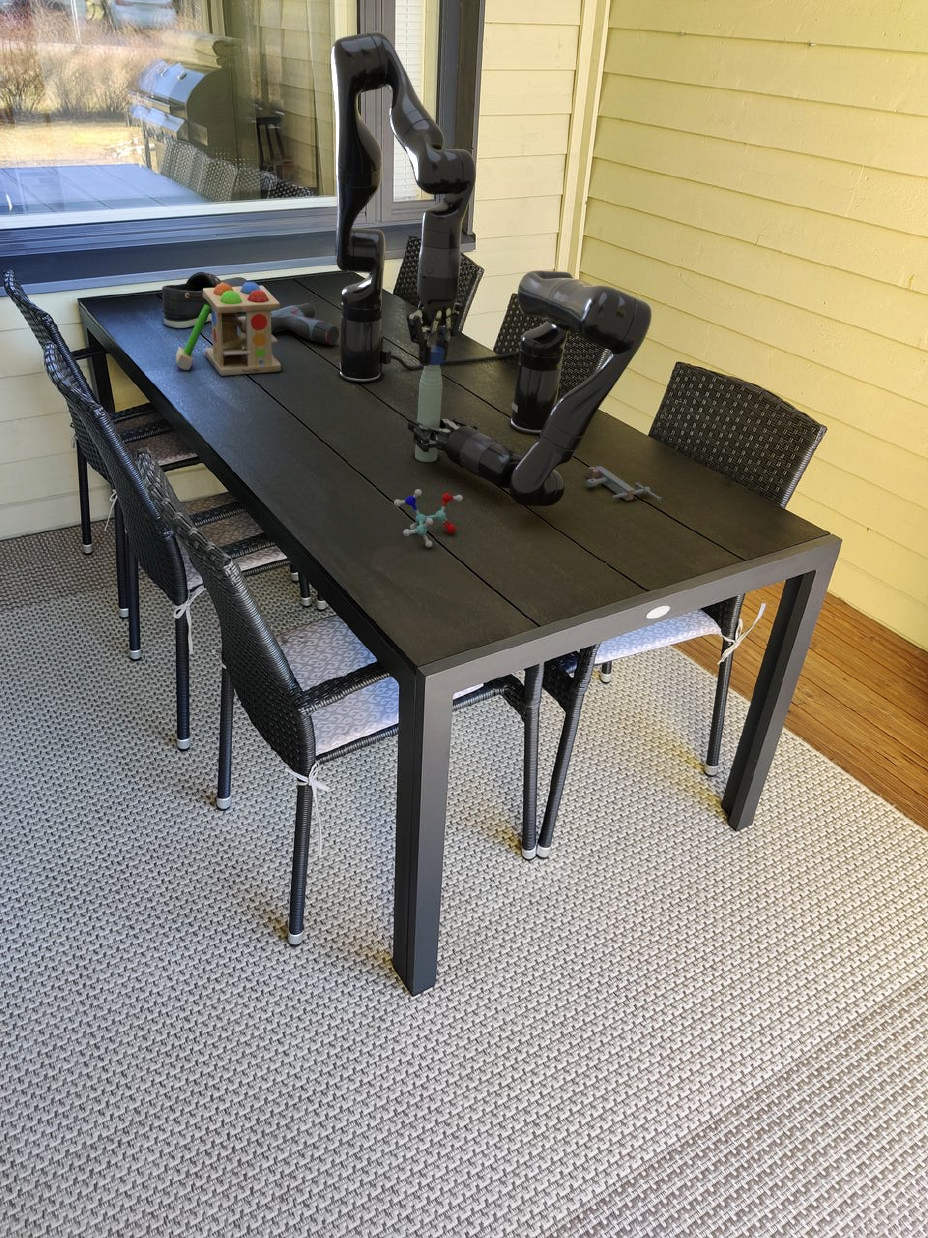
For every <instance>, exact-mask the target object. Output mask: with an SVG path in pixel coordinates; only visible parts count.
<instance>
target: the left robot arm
mask: <svg viewBox="0 0 928 1238" xmlns="http://www.w3.org/2000/svg"><path fill="white" fill-rule="evenodd" d="M331 74H332V75H331V76H332V86H333V97H334V110H335V133H336V134H335V136H336V137H335V179H336V182H335V183H336V205H337V206H336V226H335V227H336V228H335V247H334V250H335V251H334V252H335V253H334V254H335V261H336V265H337V267H338V269H339V270H340V271H342V272H346V273H354V274H355V273H356V274H357V273H358V274H368V276H367V277H366V278H364V279H363V280H361V281H359V282H356V283H353V284H349V285H347V286H345V287H343V289H342V290H341V307H340V308H341V310H340V311H341V312H340V314H341V315H340V322H341V323H340V362H339V369H340V370H339V376H340V377H341V378H342V380H345V381H348V382H352V383H359V384H360V383H361V384H364V383H365V384H366V383H367V384H369V383H373V382H376V381H378V380H380V378H381V375H382V374H383V365H389V364H391V363H392V360H394V361H397V362H399V363H400V364H401V366H402V367H403V368H404V369H406V370H409V371H415V370H416V371H417V370H421V369H424V366H428V365H430V359H431V345H432V343H433V342H432V341H433V337H434V336H435V335H436V336H437V339H436V340H435V341H436V342H435V343H436V344H435V345H436V346H440V347H442V348H444V362H443V363H442V364H441V365H450V364H451V365H453V364H465V363H467V364H468V363H478V362H487V361H495V360H499V359H505V358H509V357H515V356H519V353H520V349H519V350H517V351H513V352H507V353H501V354H499V355H493V356H491V355H490V356H484V357H475V358H464V359H463V358H461V359H449V360H448V359H447V357H448V352H449V350H448V349H449V342H450V341H451V338H452V337H454V338H455V337H457V335H458V333H459V329H460V325H461V322H462V320H463V319H462V318H463V315H464V311H465V309H466V308H465V305H464V304H461V303H459V302H456V301H455V300H456V299H457V298H458V295H459V285H460V284H459V283H460V274H461V273H460V272H461V260H462V259H461V258H462V257H461V243H462V231H463V229H462V227H463V221H464V218H465V215H466V212H467V210H468V206H469V203H470V200H471V197H472V194H473V191H474V188H475V184H476V180H477V167H476V166H477V165H476V163H475V162H476V161H475V160H474V157H473V155H472V154H471V153H470V152H469V151H468V150H466V149H463V148H450V149H449V148H448V149H447V148H445V149H444V147H445V137H444V134H443V132H442V130H441V128H440V127H439V125H438V124H437V123H436V121H435V120H434V118H433V116H431V114H430V112H429V111H428V110H427V109H426V108H425V106H424V105H423V103H422V101H421V100H420V98H419V96H418V95H417V92H416V91H415V89H414V86H413V83H412V81H411V79H410V77H409V75H408V73H407V71H406V69H405V67H404V65H403V63H402V60H401V59H400V56H399V55H398V52H397V50H396V49H395V46H394V45H393V43H392V42H391V40H390V39H389V37H387V35H386V34H385V33H384V32H381V31H376V30H375V31H368V32H367V31H366V32H362V33H358V34H352V35H348V36H343V37H340V38H338V39H336V40H335V41H334V43H333V45H332V49H331ZM382 88H386V89H387V90H388V91H389V92H390V93H391V99H390V100H391V102H390V106H389V113H388V116H389V125H390V129H391V132H392V134H393V135H394V137H395V139H396V140H397V141H398V143H399V145H400V146H401V147H402V150H404V152H405V153H406V154H407V156H408V159H409V163H410V166H411V170H412V172H413V177H414V180H415V183H416V185H417V187H418V188H419V189H420V190H421V191H422V192H424V193H425V194H428V195H432V196H435V195H437V196H439V195H443V197H442V200H441V202H439V203H438V204H436V205H434V206H431V207H429V208H427V209H426V210H424V212H423V214H422V222H421V239H420V247H419V248H420V249H419V254H418V264H417V265H418V266H417V269H418V270H417V281H416V282H417V283H416V294H417V296H418V297H419V298H418V299H419V303H418V306H417V310H416V311H415V312H413V313H411V312H408V313H407V314H406V317H405V318H406V322H407V328H408V331H409V332H408V333H409V338H410V341H411V343H413V344H416V345H418V362H419V364H420V365H415V366H413V365H412V366H411V365H407V363H406V362H405V361H404V360H403V359H402V358H400V357H399V356H397V355H394V354H392V350H389V349H387V348H384V335H383V334H382V323H383V287H384V286H383V284H384V283H383V282H384V271H385V260H386V236H385V234H384V232H383V231H382V230H380V229H374V228H361V227H354V224H355V222H356V220H357V217H358V216H359V215H360V213H361V212H362V211H363V210H364V208H365V207H366V206H367V205H368V203H370V202H371V200H372V199H373V198H374V196H375V195H376V193H377V192H378V190H379V188H380V186H381V183H382V176H383V175H382V174H383V173H382V172H383V170H382V169H383V152H382V147H381V144H380V143H379V141H378V139H377V138H376V136H375V135H374V133H373V132H372V130H371V128H369V126H368V125H367V124H366V123H365V121H364V120H363V119H364V118H362V115H361V114H360V112H359V108H358V97H359V95H360V94H362V93H366V92H371V91H376V90H381V89H382ZM452 324H453V326H452ZM425 336H426V338H425Z"/></svg>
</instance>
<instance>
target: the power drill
mask: <svg viewBox="0 0 928 1238" xmlns="http://www.w3.org/2000/svg"><path fill="white" fill-rule="evenodd" d="M315 315H316V308H315V306H314V305H313V304H312V303H311V302H305V303H300V304H295V305H294V304H293V305H289V306H285V307H283V308H280V310H271V334H272V335H273V334H275V333H276V334H277V333H279V332H282V331H286V330H290V331H292V332H293V333H295V334H296V335H298V336H300V337H302V338H305V339H307V340H309V341H313V342H316V343H319V344H323V345H327V346H333V345H335V344H336V343H337V342H338V340H339V337H340V330H339V328H338V326H336V325H334V324H333V323H332V324H331V323H329V322H328V321H323V320H321V319H317V318H314V317H315Z"/></svg>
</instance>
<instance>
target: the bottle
mask: <svg viewBox="0 0 928 1238" xmlns="http://www.w3.org/2000/svg"><path fill="white" fill-rule="evenodd" d="M440 366H441V364H440V365H428V366H424V368H423V370H422V374H421V375H420V380H419V385H418V386H419V387H418V388H419V389H418V402H417V417H416V418H417V419H416V421H417V422H419V423H421V424H423V425H424V426H427V427H432V426H435V427H438V428H439V427H440V418H441V412H442V398H443V377H442V371H441V370H442V368H441V367H440ZM434 434H435V432H434ZM425 435H426V436H428V432H426V431H425ZM438 454H439V450H438V449H436V447H434V448H429V452H423V451H422V450H421V449H420V448H419V447H418V446H417V445H416V444H415V451H414V458H415V460H417V461H419V462H423V463H432V462H435V461H437V459H438Z"/></svg>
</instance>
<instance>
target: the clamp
mask: <svg viewBox="0 0 928 1238" xmlns="http://www.w3.org/2000/svg"><path fill="white" fill-rule="evenodd" d="M587 478H588V479H586V482H585V485H586V486H587V487H589V488H593V487H598V486H599V485H601V484H603V485H604V486H606V487H607V488H608V489H609V490H611V491H613V492H614V493H615V494H614V495H612V496H611V497H612V499H621V498H622V499H623V500H625V501H632V500H633V499H634V496H636V495H639V494H642V495H646V494H649V495H650V496H651V497H653V498H654V499H656V500H657V502H659V503H660V502H661V501H662V500H663V498H662V496H658V495H657V494H655V493H654V492H652V491H651V488H650V486H644V485H642V484H641V483H640V482H639V481H638V482H637V481H636V483H635V484H634V485H635V488H639V489H635V488H633V487H632V486H631V485H629V484H628V483H626V482H625V481H623V480H622V479H620V478H619V477H618V476H617V475H615V474H614V473H613V472H611V471H609V470H608V469H606V468H605V467H603V466H602V465H599V466H595V467H594V466H590V467H588V470H587Z"/></svg>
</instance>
